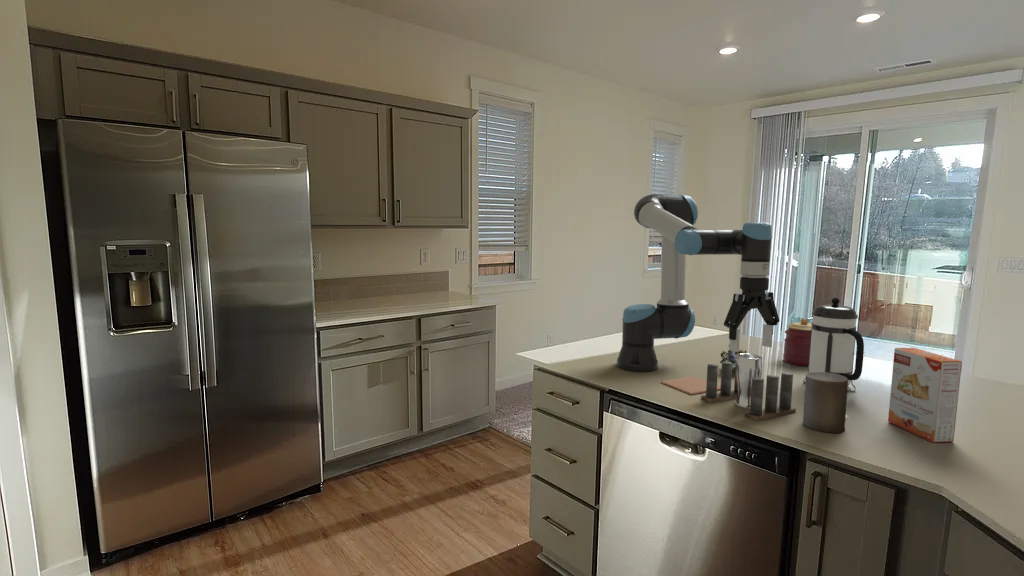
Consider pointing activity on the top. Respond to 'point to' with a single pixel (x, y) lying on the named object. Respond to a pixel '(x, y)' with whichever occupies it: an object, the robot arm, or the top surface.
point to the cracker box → (925, 393)
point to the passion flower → (731, 356)
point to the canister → (797, 343)
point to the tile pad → (689, 385)
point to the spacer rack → (752, 392)
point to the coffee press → (835, 341)
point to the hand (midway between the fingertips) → (750, 348)
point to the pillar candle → (825, 402)
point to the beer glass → (747, 377)
